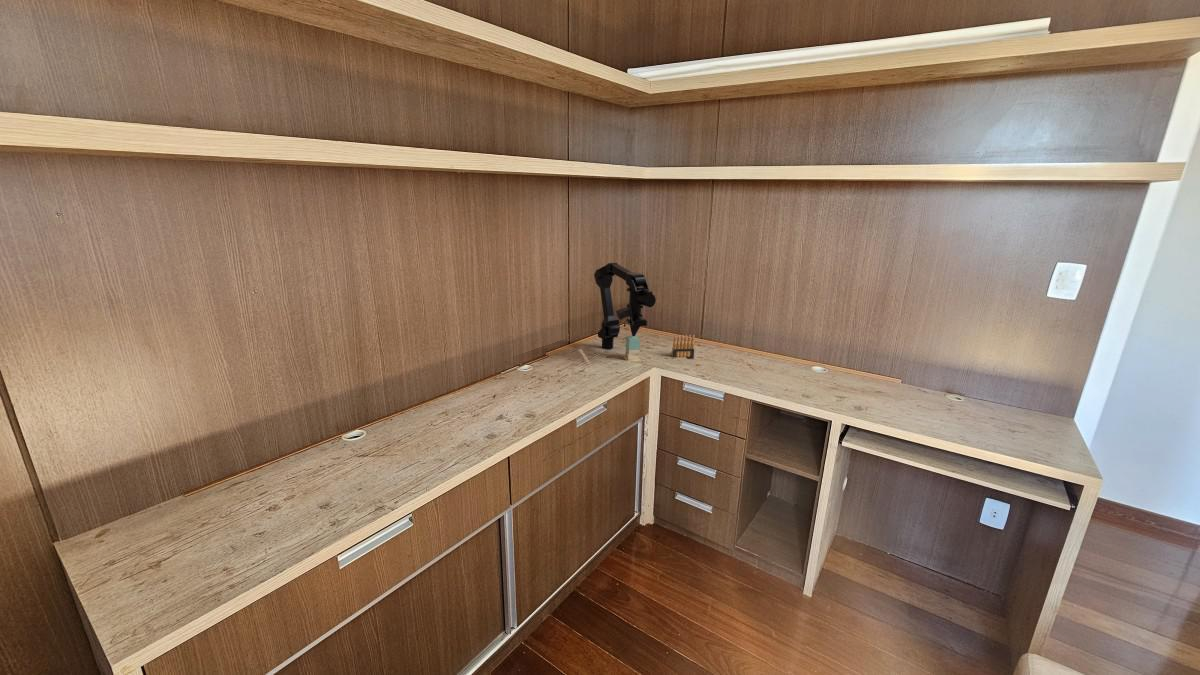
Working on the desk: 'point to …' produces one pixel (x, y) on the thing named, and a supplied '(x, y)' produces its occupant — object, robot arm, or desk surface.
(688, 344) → the ammunition clip
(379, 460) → the desk surface
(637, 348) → the teal block
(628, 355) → the maple block
